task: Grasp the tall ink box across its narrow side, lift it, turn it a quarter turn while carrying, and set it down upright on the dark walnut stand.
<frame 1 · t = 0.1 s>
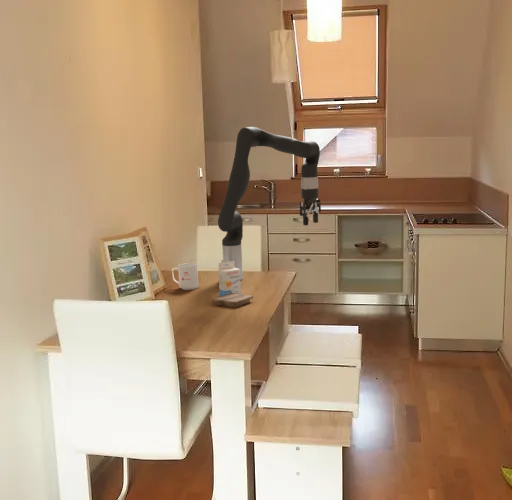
hand: (310, 223, 301), 29 cm above the table, fingers open, 8 cm apart
stand: (233, 303, 284), on the table
mug: (185, 288, 317), on the table
ink box: (230, 295, 299), on the table
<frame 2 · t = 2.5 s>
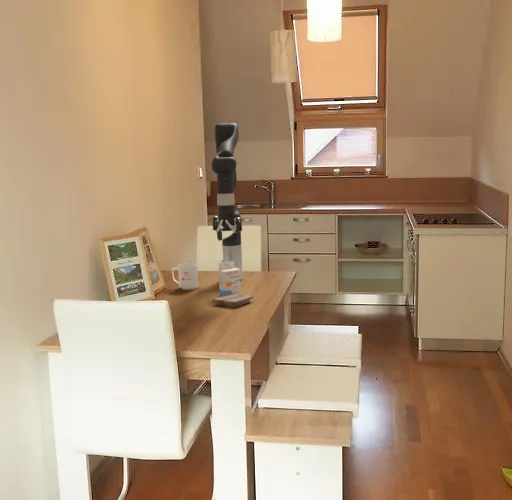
hand: (227, 240, 295), 24 cm above the table, fingers open, 8 cm apart
nothing on the table moved.
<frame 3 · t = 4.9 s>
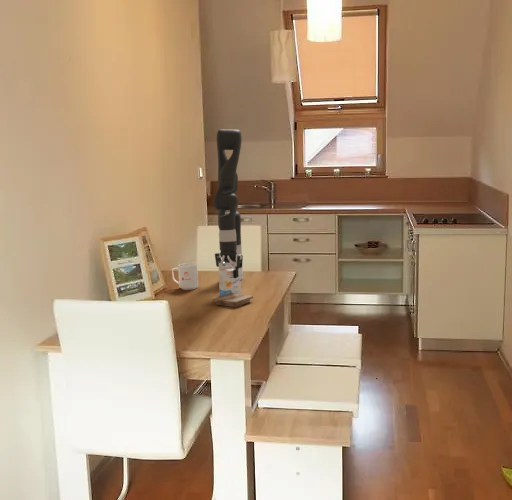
hand: (229, 277, 297), 8 cm above the table, fingers closed on ink box, 6 cm apart
ink box: (230, 295, 299), on the table, touching gripper
everything else where it was.
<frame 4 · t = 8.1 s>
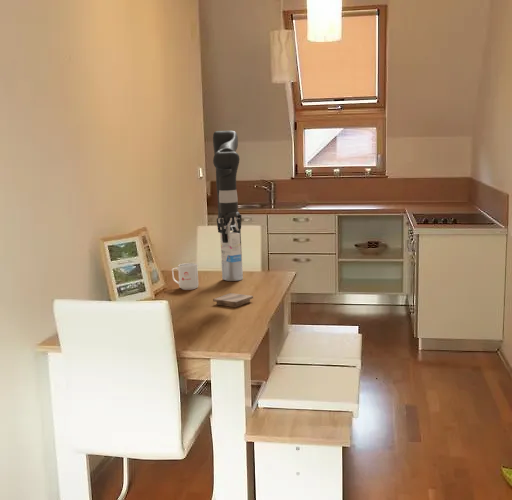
hand: (230, 241, 280), 26 cm above the table, fingers closed on ink box, 6 cm apart
ink box: (231, 261, 281), point 18 cm above the table, touching gripper
everything else where it was.
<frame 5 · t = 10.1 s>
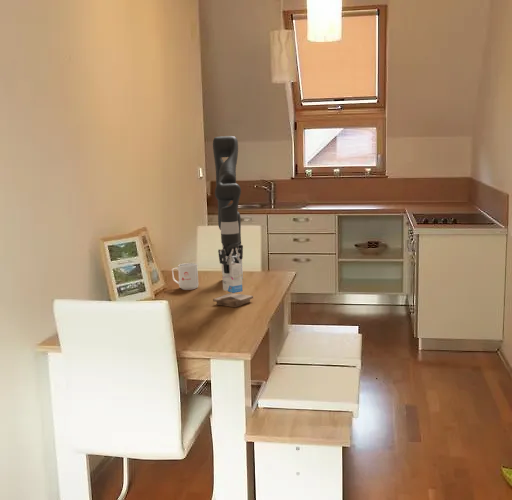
hand: (231, 271, 282), 14 cm above the table, fingers closed on ink box, 6 cm apart
ink box: (232, 291, 283), point 5 cm above the table, touching gripper
everything else where it was.
when the fingers open (11 cm above the table, at t = 11.6 s): ink box stays where it is, resting on stand.
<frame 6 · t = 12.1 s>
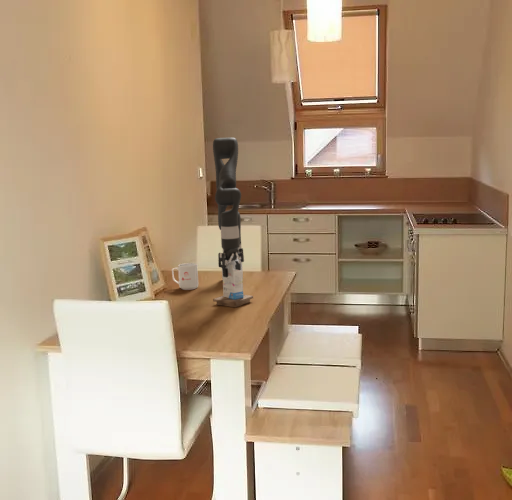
hand: (232, 275, 282), 12 cm above the table, fingers open, 8 cm apart
ink box: (233, 297, 284), point 2 cm above the table, touching stand
everything else where it was.
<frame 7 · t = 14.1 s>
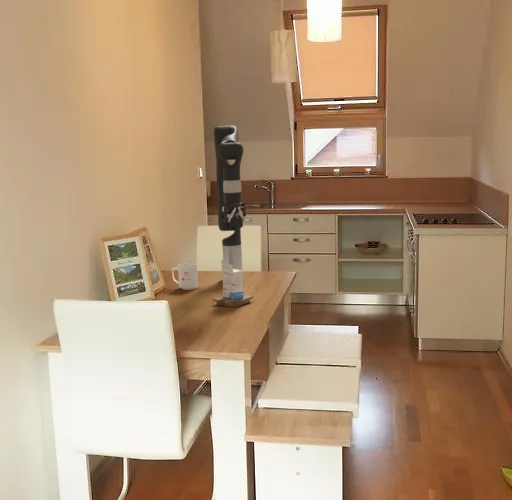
hand: (234, 229, 286), 30 cm above the table, fingers open, 8 cm apart
nothing on the table moved.
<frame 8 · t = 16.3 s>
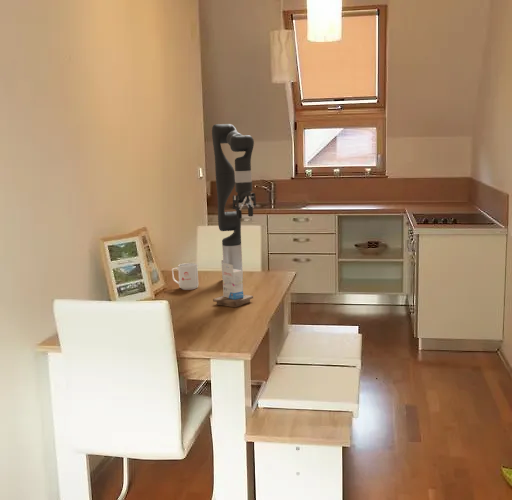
hand: (245, 217, 302), 33 cm above the table, fingers open, 8 cm apart
nothing on the table moved.
at the end: ink box inside the target area on the stand (0.3 cm from its centre), point 2.3 cm above the stand's base; ink box tilted 0°; ink box touching stand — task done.
